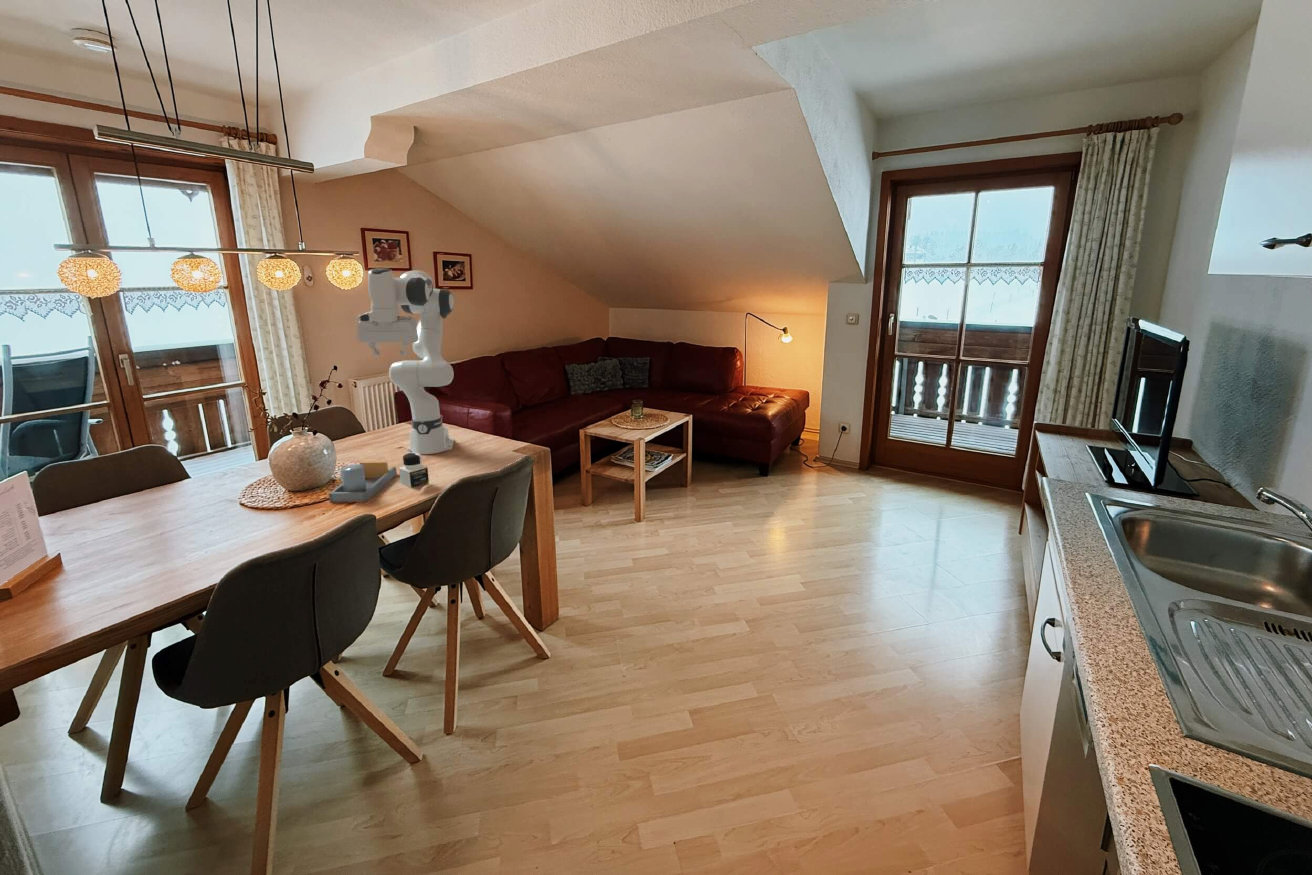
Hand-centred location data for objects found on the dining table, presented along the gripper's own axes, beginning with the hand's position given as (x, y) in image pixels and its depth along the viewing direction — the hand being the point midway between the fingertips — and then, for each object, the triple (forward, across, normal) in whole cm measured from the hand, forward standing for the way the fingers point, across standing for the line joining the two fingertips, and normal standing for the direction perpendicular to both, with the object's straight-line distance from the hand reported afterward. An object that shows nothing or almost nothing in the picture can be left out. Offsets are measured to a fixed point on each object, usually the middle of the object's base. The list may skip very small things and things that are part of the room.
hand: (390, 355), depth 206 cm
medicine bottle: (+46, -7, +10) cm, 48 cm away
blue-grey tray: (+46, +9, +14) cm, 49 cm away
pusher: (+45, +9, +5) cm, 46 cm away
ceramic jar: (+45, +9, +22) cm, 51 cm away
